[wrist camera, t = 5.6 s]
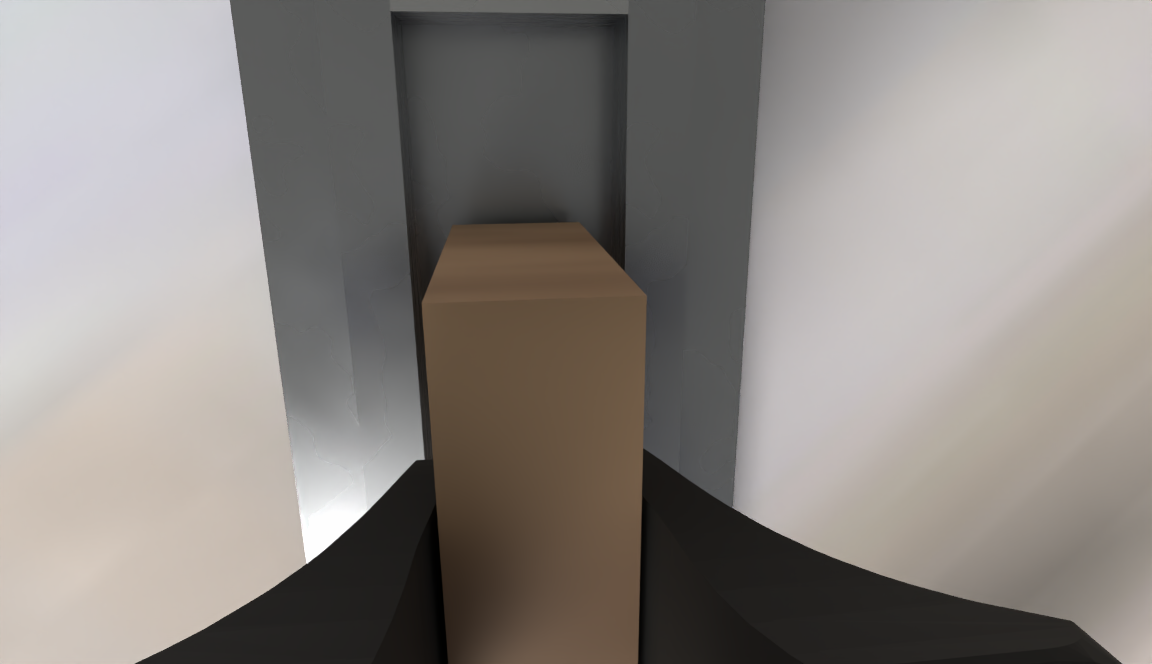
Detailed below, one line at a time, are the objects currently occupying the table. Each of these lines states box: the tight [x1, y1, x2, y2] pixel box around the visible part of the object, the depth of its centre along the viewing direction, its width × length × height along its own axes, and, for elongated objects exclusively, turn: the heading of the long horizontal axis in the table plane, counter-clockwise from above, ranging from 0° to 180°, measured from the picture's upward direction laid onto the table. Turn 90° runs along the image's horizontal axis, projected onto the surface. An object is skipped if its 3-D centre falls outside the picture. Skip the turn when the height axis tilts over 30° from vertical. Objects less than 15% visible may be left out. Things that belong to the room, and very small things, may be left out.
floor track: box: [230, 0, 765, 563], centre depth 15 cm, size 18×10×2 cm, turn 0°
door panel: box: [422, 222, 647, 664], centre depth 11 cm, size 9×2×6 cm, turn 1°
